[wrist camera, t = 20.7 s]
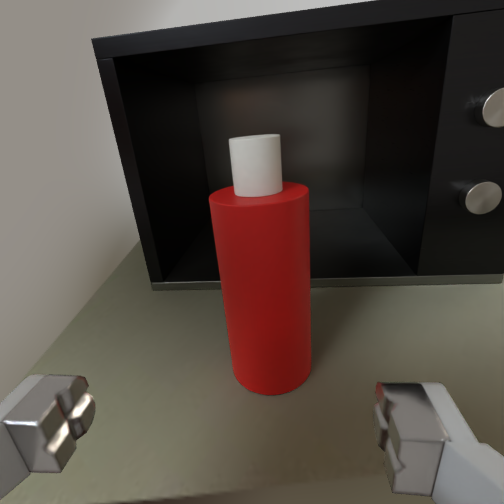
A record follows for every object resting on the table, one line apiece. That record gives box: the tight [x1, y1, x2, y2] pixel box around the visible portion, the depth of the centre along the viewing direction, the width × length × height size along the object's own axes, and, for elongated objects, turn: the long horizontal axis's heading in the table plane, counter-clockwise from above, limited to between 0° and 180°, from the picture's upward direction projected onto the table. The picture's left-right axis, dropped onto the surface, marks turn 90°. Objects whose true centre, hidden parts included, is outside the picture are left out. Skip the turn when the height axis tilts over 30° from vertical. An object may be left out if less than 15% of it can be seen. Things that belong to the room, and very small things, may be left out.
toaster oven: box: [91, 0, 504, 290], centre depth 39 cm, size 36×27×24 cm
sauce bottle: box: [209, 134, 311, 395], centre depth 20 cm, size 6×6×16 cm
